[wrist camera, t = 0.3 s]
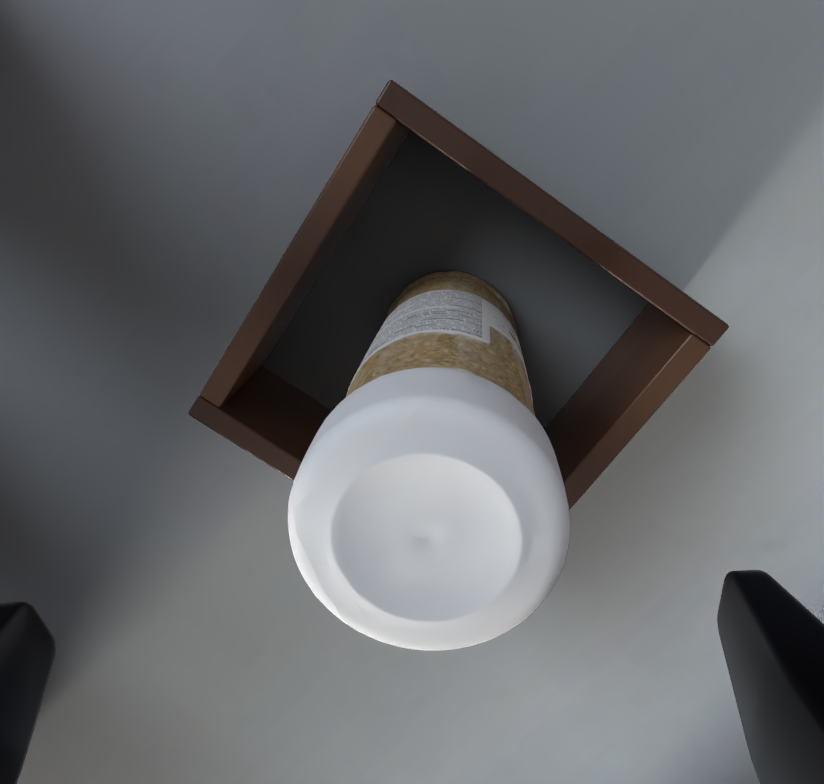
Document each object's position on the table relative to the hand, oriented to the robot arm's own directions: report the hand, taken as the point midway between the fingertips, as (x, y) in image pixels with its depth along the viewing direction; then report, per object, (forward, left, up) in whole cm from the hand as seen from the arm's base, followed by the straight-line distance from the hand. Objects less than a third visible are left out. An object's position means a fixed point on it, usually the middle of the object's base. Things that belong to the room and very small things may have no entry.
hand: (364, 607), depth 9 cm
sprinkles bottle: (0, -1, -16) cm, 16 cm away
